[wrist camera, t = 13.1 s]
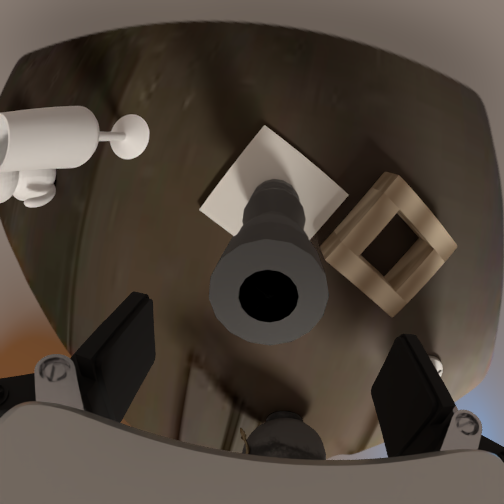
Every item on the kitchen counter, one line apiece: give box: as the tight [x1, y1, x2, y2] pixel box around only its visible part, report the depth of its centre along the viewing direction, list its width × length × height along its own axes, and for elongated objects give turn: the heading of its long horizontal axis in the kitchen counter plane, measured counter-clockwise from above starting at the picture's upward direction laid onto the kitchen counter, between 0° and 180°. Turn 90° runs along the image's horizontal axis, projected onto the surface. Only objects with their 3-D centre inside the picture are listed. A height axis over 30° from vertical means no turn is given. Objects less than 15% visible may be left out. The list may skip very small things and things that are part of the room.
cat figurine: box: [0, 169, 56, 207], centre depth 32 cm, size 9×12×15 cm
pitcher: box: [240, 411, 326, 460], centre depth 39 cm, size 11×19×30 cm, turn 56°
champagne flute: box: [0, 106, 149, 173], centre depth 25 cm, size 7×7×24 cm
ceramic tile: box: [199, 125, 348, 240], centre depth 37 cm, size 14×14×1 cm
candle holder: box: [209, 179, 329, 345], centre depth 25 cm, size 6×6×25 cm
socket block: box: [320, 172, 458, 318], centre depth 36 cm, size 14×14×5 cm
